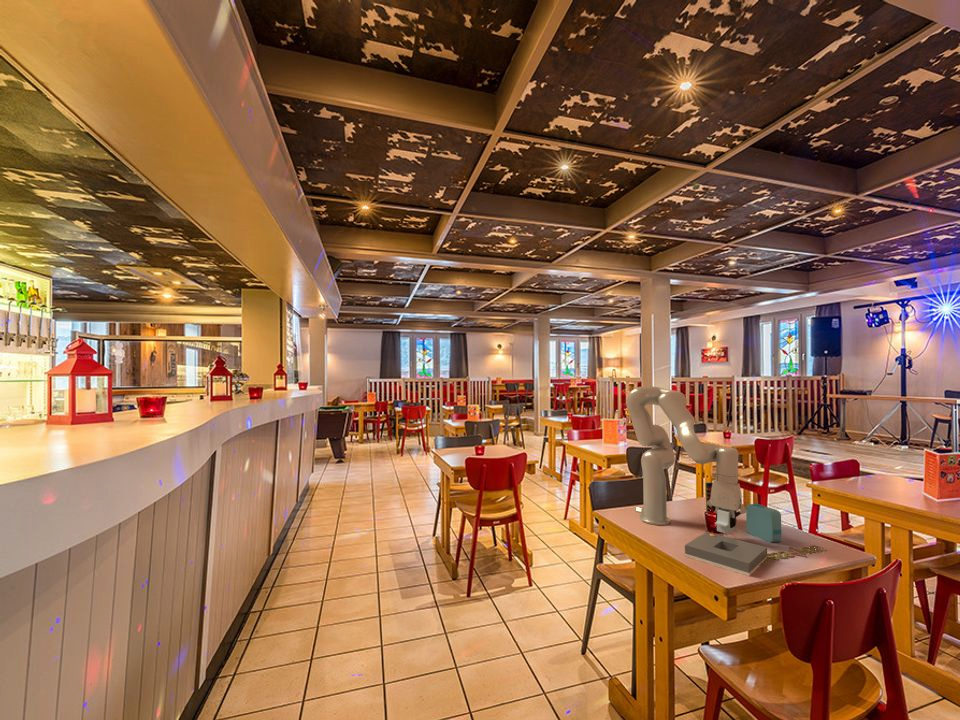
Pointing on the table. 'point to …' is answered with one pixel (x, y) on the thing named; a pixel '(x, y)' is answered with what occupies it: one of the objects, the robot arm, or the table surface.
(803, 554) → the text sign
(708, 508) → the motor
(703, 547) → the chassis
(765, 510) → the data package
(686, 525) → the table surface
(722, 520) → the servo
